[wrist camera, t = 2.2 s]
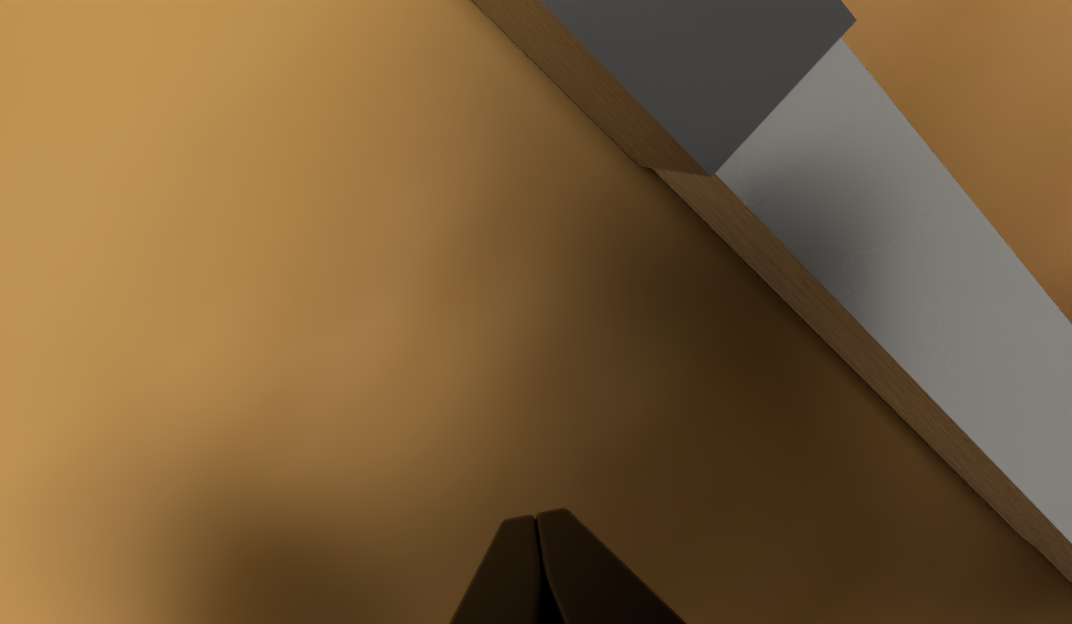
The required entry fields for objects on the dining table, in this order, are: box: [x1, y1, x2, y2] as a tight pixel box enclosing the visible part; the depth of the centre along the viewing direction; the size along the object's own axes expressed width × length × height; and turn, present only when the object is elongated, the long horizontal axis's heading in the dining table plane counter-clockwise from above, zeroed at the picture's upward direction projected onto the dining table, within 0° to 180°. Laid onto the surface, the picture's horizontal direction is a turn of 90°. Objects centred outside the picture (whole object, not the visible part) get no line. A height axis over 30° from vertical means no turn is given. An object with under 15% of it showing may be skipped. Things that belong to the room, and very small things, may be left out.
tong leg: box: [472, 0, 1072, 583], centre depth 8 cm, size 19×2×3 cm, turn 48°
